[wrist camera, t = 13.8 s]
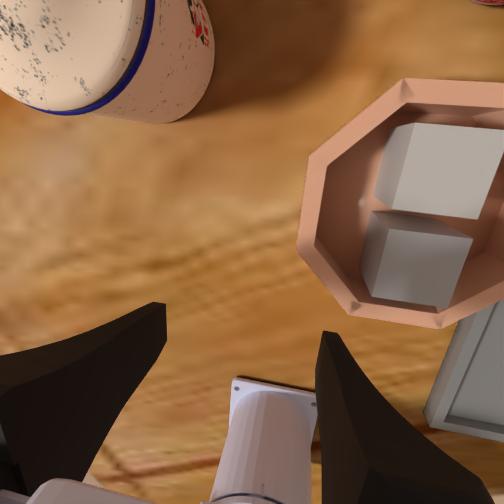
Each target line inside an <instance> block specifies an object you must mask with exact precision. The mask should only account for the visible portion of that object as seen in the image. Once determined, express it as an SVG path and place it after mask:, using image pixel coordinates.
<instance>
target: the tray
mask: <svg viewBox="0 0 504 504" xmlns="http://www.w3.org/2000/svg"><path fill="white" fill-rule="evenodd" d="M423 413H424V416H425V418H426V420H427V422H428V425H429V427H432V428H437V429H441V430H446V431H451V432H456V433H461V434H466V435H471V436H475V437H480V438H485V439H490V440H495V441H500V442H504V299H502V300H500V301H498V302H496V303H494V304H492V305H490V306H488V307H486V308H483V309H481V310H479V311H477V312H475V313H473V314H471V315H469V316H467V317H465V318H463V319H461V320H459V322H458V325H457V327H456V330H455V332H454V335H453V337H452V340H451V342H450V345H449V347H448V350H447V352H446V355H445V358H444V360H443V363H442V365H441V368H440V370H439V373H438V375H437V378H436V380H435V383H434V385H433V388H432V391H431V393H430V396H429V398H428V401H427V403H426V406H425V408H424V411H423Z"/></svg>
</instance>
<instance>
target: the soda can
mask: <svg viewBox="0 0 504 504" xmlns="http://www.w3.org/2000/svg"><path fill="white" fill-rule="evenodd" d="M470 1H472V2H476V3H479V4H485V5H502V4H504V0H470Z"/></svg>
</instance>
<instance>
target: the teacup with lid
mask: <svg viewBox="0 0 504 504" xmlns="http://www.w3.org/2000/svg"><path fill="white" fill-rule="evenodd" d="M214 57H215V43H214V34H213V29H212V25H211V21H210V18H209V15H208V13H207V10H206V8H205V6H204V4H203V2H202V0H0V89H1V90H2V91H4V92H5V93H6V94H8V95H9V96H11V97H13V98H15V99H16V100H18V101H20V102H22V103H24V104H25V105H27V106H29V107H32V108H34V109H36V110H39V111H42V112H45V113H50V114H54V115H64V116H69V115H80V114H85V113H86V114H92V115H99V116H105V117H111V118H117V119H124V120H130V121H136V122H143V123H149V124H162V123H168V122H172V121H175V120H177V119H179V118H181V117H183V116H184V115H186V114H187V113H188V112H190V111H191V110H192V109H193V108H194V107H195V106H196V105H197V103H198V102H199V101H200V99H201V98H202V96H203V95H204V93H205V91H206V89H207V87H208V84H209V82H210V79H211V75H212V71H213V66H214Z"/></svg>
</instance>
